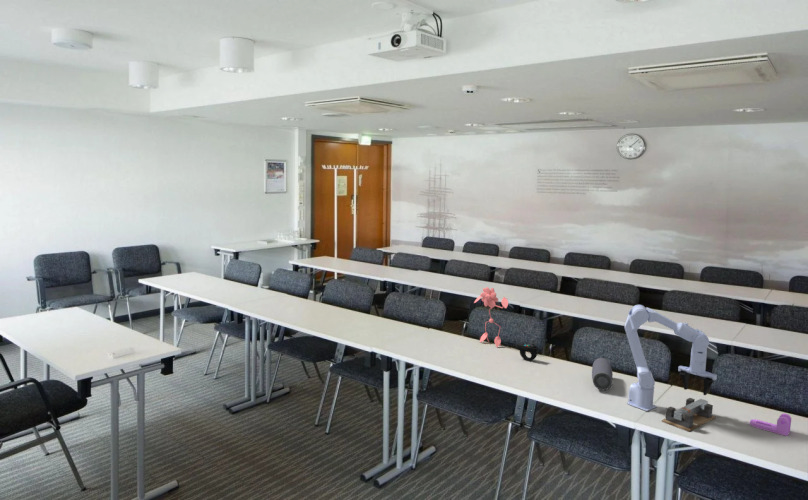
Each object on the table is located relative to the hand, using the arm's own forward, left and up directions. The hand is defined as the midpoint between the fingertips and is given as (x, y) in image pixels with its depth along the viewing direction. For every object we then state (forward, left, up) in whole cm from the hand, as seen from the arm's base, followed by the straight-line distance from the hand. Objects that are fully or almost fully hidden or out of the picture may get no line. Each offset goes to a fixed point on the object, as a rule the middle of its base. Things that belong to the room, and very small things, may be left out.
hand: (695, 391), depth 229 cm
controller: (-86, -6, -10) cm, 87 cm away
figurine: (-116, -6, -10) cm, 117 cm away
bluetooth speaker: (-42, -3, -10) cm, 43 cm away
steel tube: (+2, -7, -7) cm, 10 cm away
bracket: (+24, +11, -10) cm, 28 cm away
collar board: (+2, -8, -9) cm, 13 cm away
